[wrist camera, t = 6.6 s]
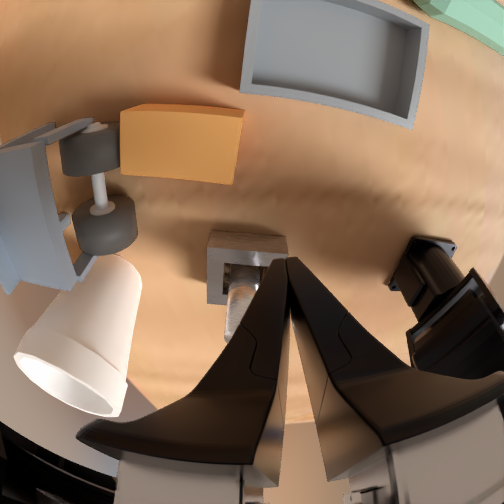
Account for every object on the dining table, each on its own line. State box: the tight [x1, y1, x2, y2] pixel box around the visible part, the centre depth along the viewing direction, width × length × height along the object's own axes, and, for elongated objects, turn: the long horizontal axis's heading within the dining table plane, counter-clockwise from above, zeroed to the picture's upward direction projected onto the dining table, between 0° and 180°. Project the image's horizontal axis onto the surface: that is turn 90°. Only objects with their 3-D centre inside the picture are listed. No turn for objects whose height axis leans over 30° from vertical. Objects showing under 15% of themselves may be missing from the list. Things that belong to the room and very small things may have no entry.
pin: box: [224, 263, 260, 343], centre depth 20 cm, size 2×2×8 cm
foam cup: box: [14, 254, 142, 417], centre depth 20 cm, size 10×9×13 cm
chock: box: [120, 104, 245, 185], centre depth 16 cm, size 7×4×4 cm, turn 81°
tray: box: [240, 0, 429, 130], centre depth 12 cm, size 11×8×2 cm
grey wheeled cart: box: [0, 117, 138, 295], centre depth 14 cm, size 9×10×10 cm
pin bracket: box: [207, 230, 289, 305], centre depth 23 cm, size 6×6×2 cm
